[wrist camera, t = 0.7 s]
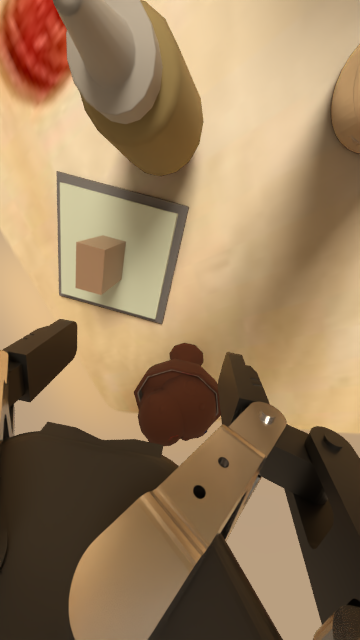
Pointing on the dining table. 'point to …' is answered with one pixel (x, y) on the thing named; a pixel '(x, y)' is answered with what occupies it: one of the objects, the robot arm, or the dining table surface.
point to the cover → (114, 250)
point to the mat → (137, 198)
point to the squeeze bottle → (133, 81)
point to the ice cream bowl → (177, 398)
